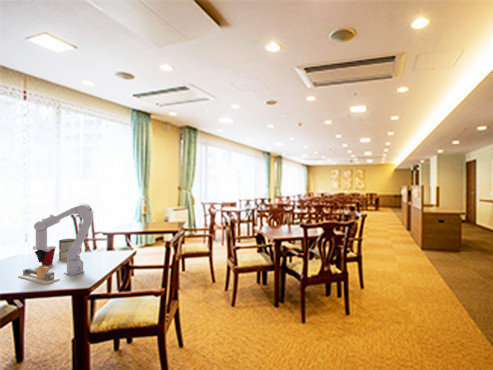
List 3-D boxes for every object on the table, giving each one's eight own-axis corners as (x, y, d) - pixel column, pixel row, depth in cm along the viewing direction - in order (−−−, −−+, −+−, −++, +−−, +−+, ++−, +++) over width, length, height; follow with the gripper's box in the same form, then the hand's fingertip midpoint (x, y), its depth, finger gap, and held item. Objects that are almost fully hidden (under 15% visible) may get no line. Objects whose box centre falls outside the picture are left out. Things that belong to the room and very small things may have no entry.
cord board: (59, 280, 162) (59, 271, 162) (44, 284, 155) (44, 275, 155) (33, 273, 175) (33, 265, 175) (18, 277, 167) (18, 268, 167)
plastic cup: (40, 263, 198) (40, 246, 198) (57, 261, 202) (58, 245, 202) (34, 267, 188) (34, 249, 188) (53, 265, 191) (53, 248, 192)
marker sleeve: (49, 276, 164) (49, 267, 164) (40, 279, 160) (40, 269, 160) (44, 275, 166) (44, 266, 166) (36, 277, 162) (36, 268, 162)
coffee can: (55, 259, 209) (55, 240, 209) (68, 255, 219) (68, 238, 219) (65, 260, 205) (65, 241, 206) (77, 257, 215) (78, 239, 215)
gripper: (27, 240, 171) (27, 262, 171) (41, 242, 165) (41, 265, 165) (39, 238, 177) (39, 259, 177) (53, 240, 171) (53, 262, 171)
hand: (41, 262), depth 172 cm, fingers closed
